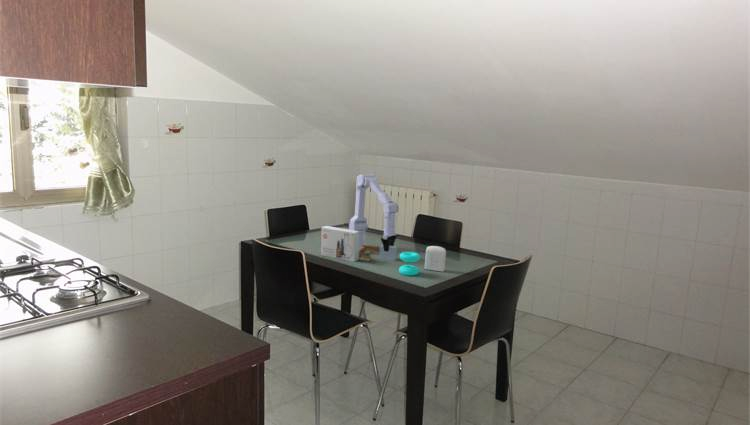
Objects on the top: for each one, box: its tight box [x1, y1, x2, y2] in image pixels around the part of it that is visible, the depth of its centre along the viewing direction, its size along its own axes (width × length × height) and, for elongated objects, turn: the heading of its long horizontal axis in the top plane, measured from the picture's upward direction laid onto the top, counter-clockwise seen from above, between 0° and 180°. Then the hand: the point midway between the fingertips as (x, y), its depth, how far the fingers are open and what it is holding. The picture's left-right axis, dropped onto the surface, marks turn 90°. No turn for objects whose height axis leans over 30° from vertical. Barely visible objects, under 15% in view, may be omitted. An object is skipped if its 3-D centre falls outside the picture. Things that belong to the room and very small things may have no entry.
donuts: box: [398, 251, 421, 277], centre depth 264 cm, size 10×10×10 cm
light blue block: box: [378, 244, 398, 261], centre depth 290 cm, size 3×9×7 cm, turn 70°
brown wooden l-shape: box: [359, 244, 380, 257], centre depth 295 cm, size 12×14×4 cm
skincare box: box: [320, 225, 360, 262], centre depth 287 cm, size 21×5×16 cm, turn 62°
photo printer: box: [424, 245, 447, 273], centre depth 271 cm, size 10×4×12 cm, turn 72°
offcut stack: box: [360, 251, 372, 261], centre depth 286 cm, size 2×5×4 cm, turn 70°
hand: (388, 249), depth 289 cm, fingers open, 7 cm apart
